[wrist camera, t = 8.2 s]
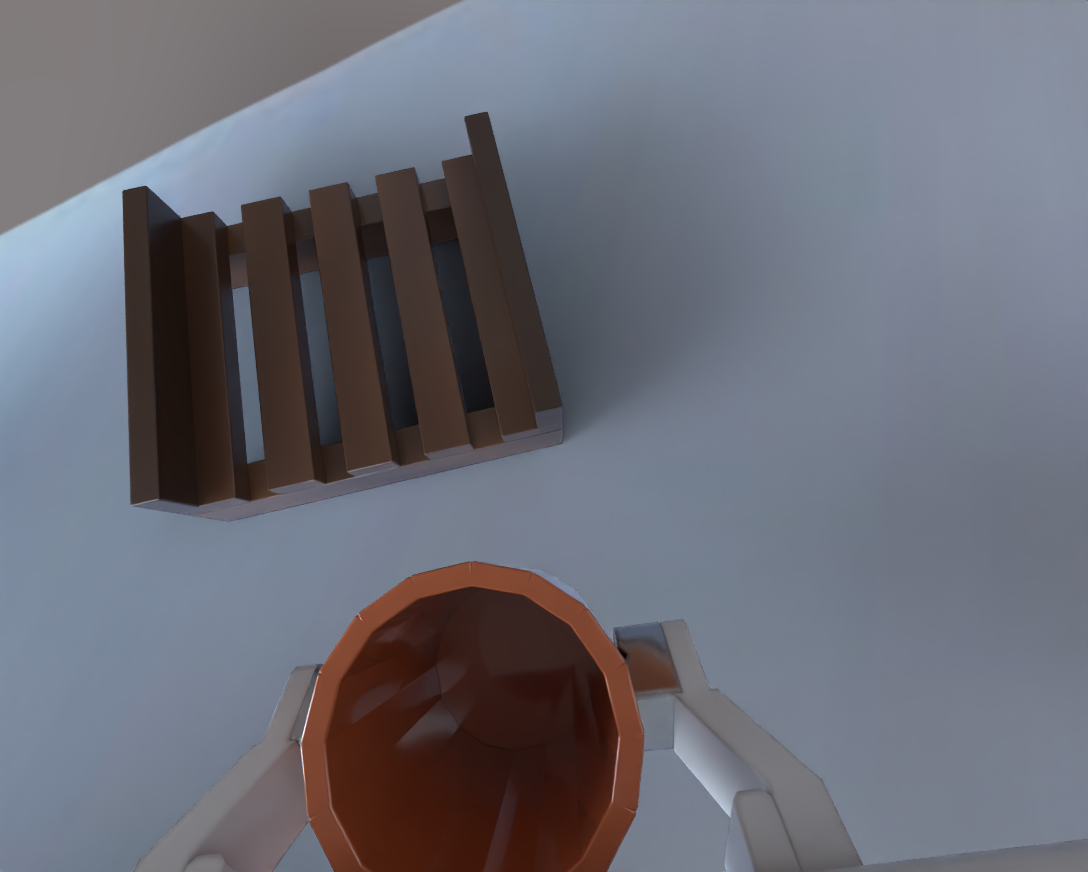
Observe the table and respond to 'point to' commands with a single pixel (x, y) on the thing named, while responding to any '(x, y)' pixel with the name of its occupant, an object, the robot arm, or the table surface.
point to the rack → (282, 345)
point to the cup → (473, 730)
